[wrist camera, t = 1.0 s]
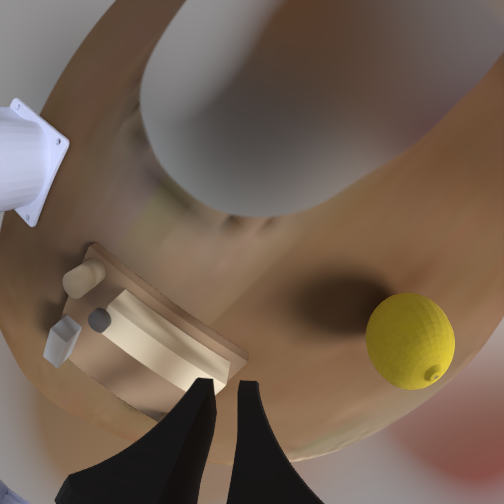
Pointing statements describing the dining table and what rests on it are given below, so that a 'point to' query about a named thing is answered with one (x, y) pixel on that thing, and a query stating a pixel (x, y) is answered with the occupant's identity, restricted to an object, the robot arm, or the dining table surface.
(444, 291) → the dining table surface
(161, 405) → the board
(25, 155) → the robot arm
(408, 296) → the lemon
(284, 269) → the dining table surface
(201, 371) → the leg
